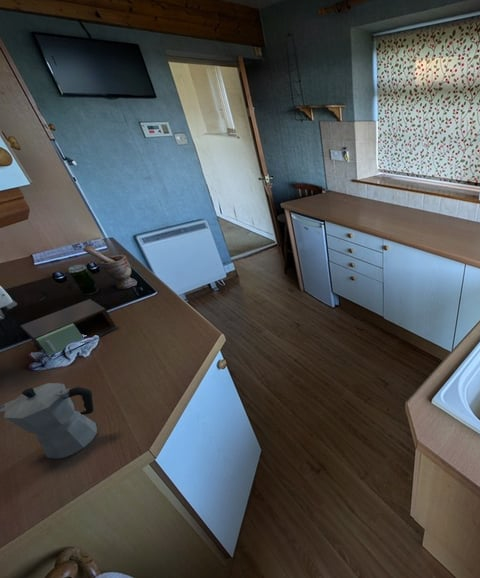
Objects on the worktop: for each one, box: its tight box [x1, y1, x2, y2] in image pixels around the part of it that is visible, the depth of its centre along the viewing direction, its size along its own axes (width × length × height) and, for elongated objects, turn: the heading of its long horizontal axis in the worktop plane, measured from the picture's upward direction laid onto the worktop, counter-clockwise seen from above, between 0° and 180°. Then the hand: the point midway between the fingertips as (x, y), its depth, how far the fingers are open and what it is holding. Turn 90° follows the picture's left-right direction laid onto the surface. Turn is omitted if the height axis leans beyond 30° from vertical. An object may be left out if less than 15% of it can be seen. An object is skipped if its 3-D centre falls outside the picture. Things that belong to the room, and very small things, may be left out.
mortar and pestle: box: [82, 245, 138, 290], centre depth 124 cm, size 12×9×20 cm
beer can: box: [68, 264, 100, 296], centre depth 122 cm, size 5×5×12 cm
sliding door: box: [36, 323, 84, 356], centre depth 93 cm, size 9×2×7 cm, turn 151°
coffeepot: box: [0, 382, 98, 460], centre depth 66 cm, size 15×9×18 cm, turn 111°
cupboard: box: [20, 298, 120, 353], centre depth 99 cm, size 18×14×8 cm
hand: (4, 331), depth 82 cm, fingers closed
